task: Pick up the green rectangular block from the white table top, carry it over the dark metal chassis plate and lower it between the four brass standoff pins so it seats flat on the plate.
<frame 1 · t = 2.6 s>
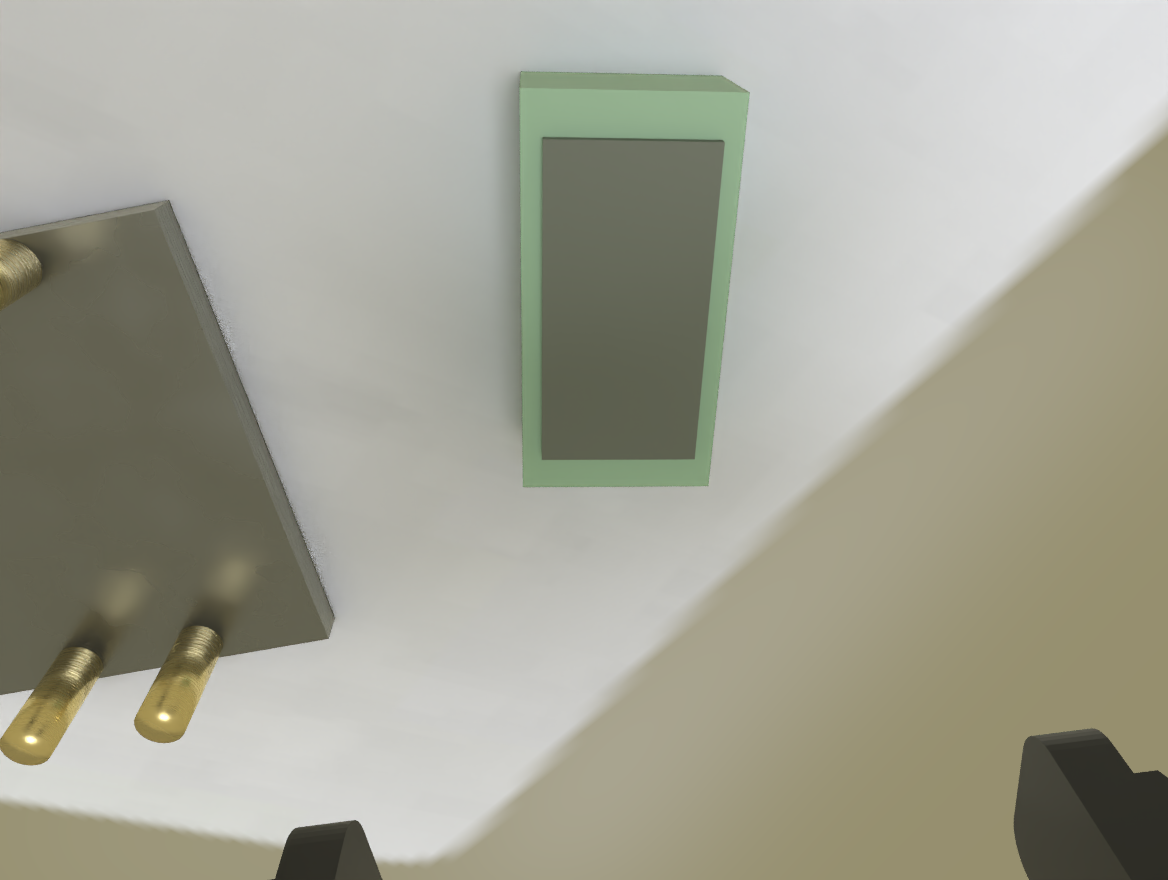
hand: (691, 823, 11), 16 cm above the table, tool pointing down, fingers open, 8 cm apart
green rectangular block: (613, 266, 25), on the table
chassis: (66, 471, 27), on the table
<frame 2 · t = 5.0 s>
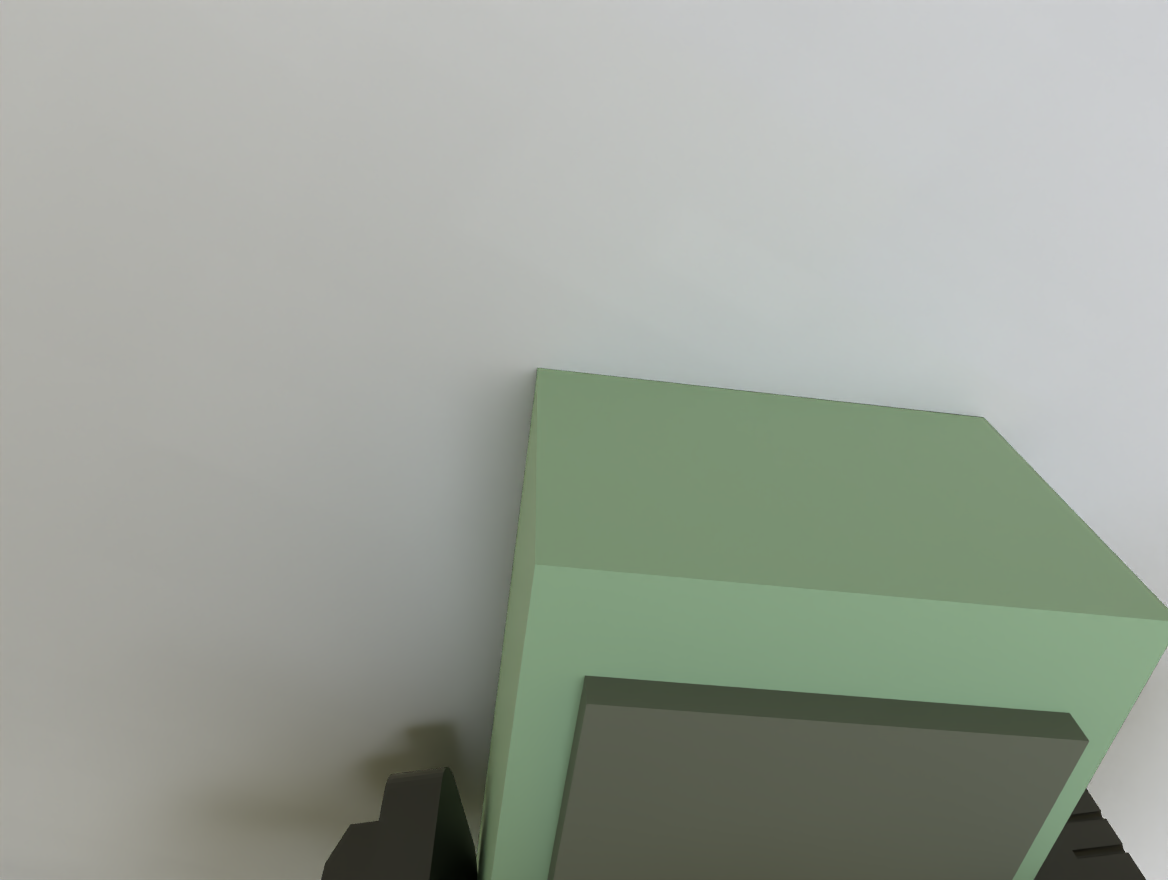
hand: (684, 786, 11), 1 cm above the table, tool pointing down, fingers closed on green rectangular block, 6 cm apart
green rectangular block: (680, 727, 12), on the table, touching gripper
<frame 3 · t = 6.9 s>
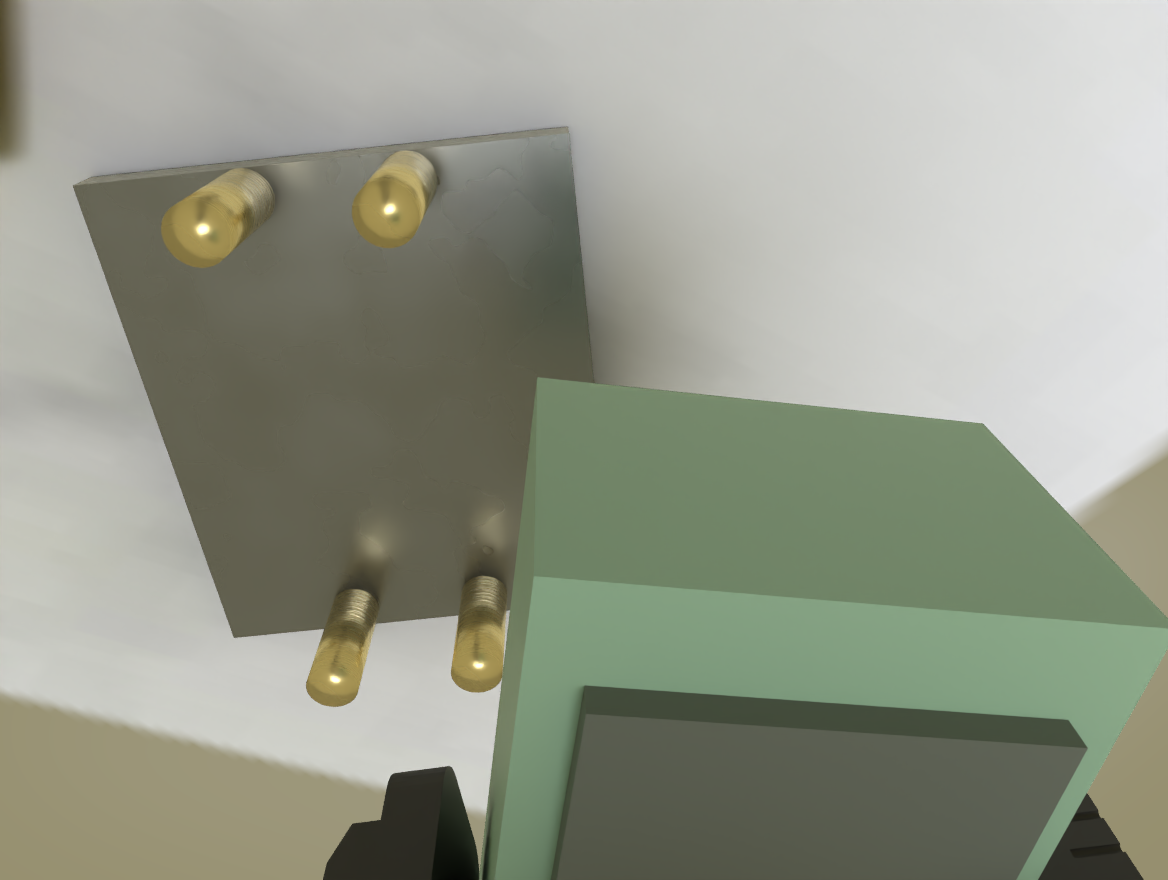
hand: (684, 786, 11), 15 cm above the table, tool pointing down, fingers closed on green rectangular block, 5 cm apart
green rectangular block: (682, 733, 12), point 15 cm above the table, touching gripper
chassis: (384, 403, 26), on the table
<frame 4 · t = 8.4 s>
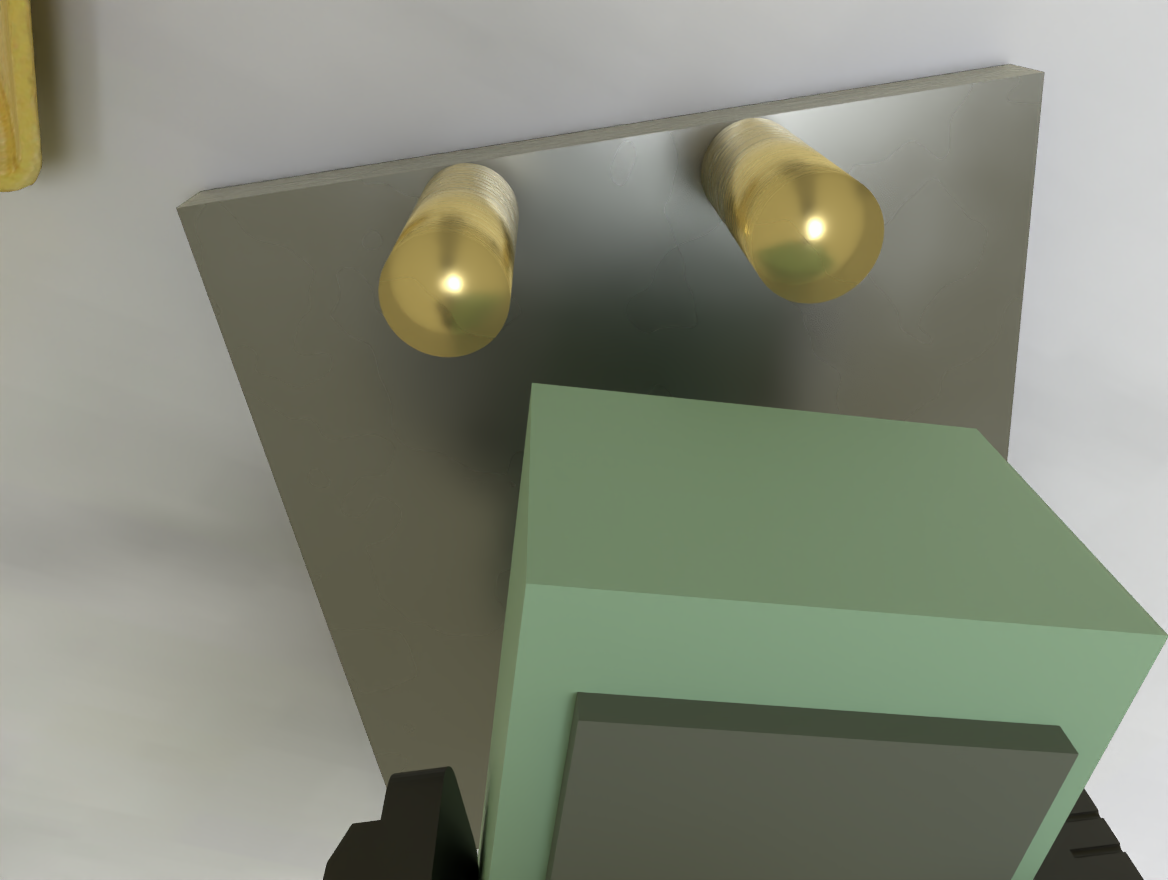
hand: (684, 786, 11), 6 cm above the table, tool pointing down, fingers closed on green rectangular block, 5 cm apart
green rectangular block: (677, 737, 12), point 5 cm above the table, touching gripper
chassis: (650, 522, 16), on the table
when the fingers open (3 cm above the table, at t = 9.3 s): green rectangular block drops 1 cm, resting on chassis.
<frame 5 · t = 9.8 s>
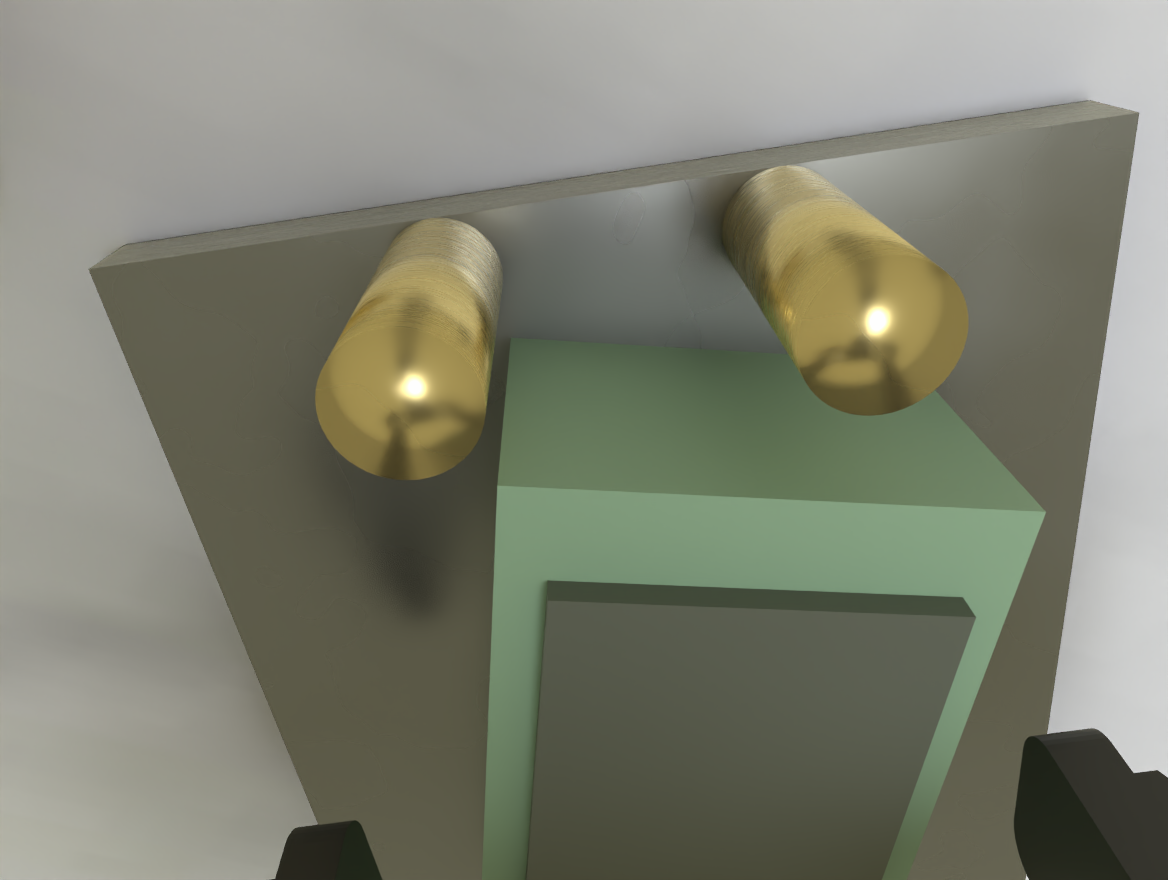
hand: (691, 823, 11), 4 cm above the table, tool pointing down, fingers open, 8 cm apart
green rectangular block: (664, 659, 13), point 1 cm above the table, touching chassis
chassis: (656, 616, 14), on the table
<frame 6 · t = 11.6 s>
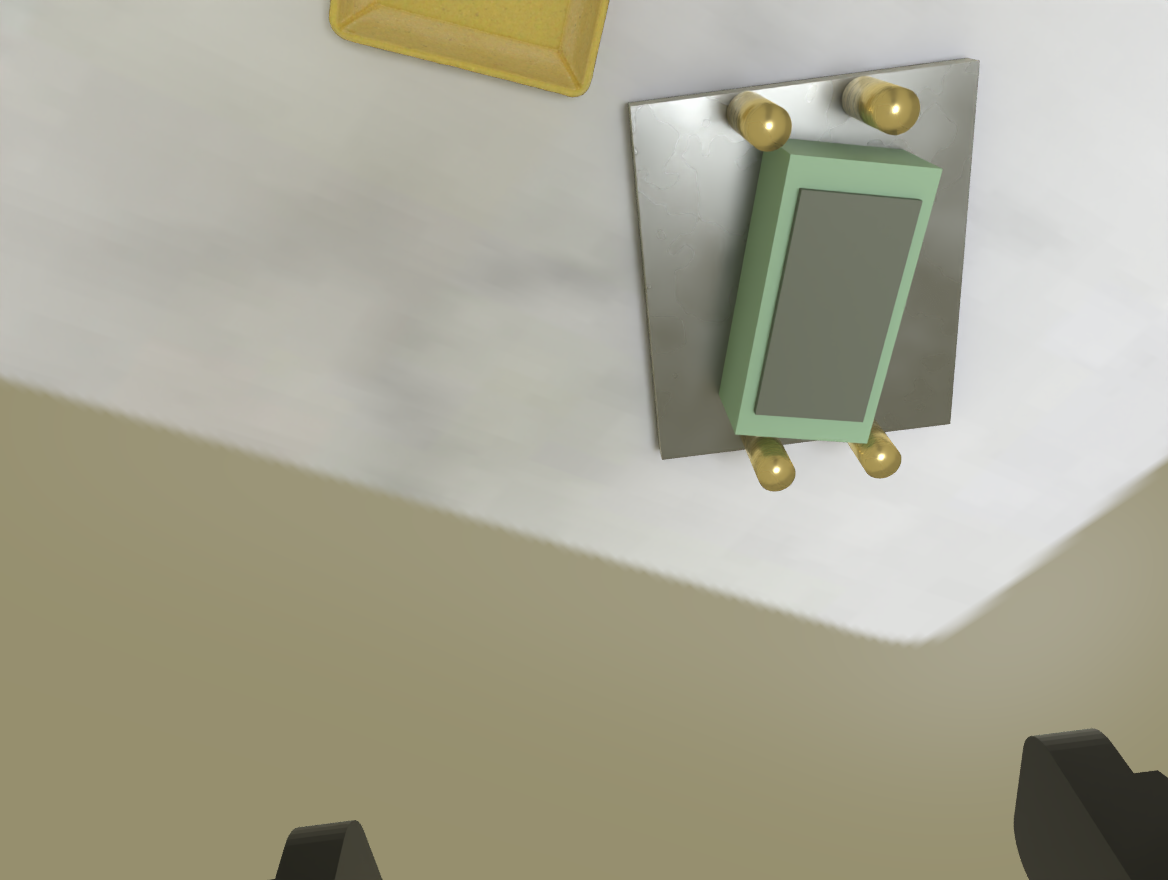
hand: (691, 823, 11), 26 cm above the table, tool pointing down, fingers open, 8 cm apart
green rectangular block: (805, 279, 34), point 1 cm above the table, touching chassis
chassis: (798, 272, 35), on the table
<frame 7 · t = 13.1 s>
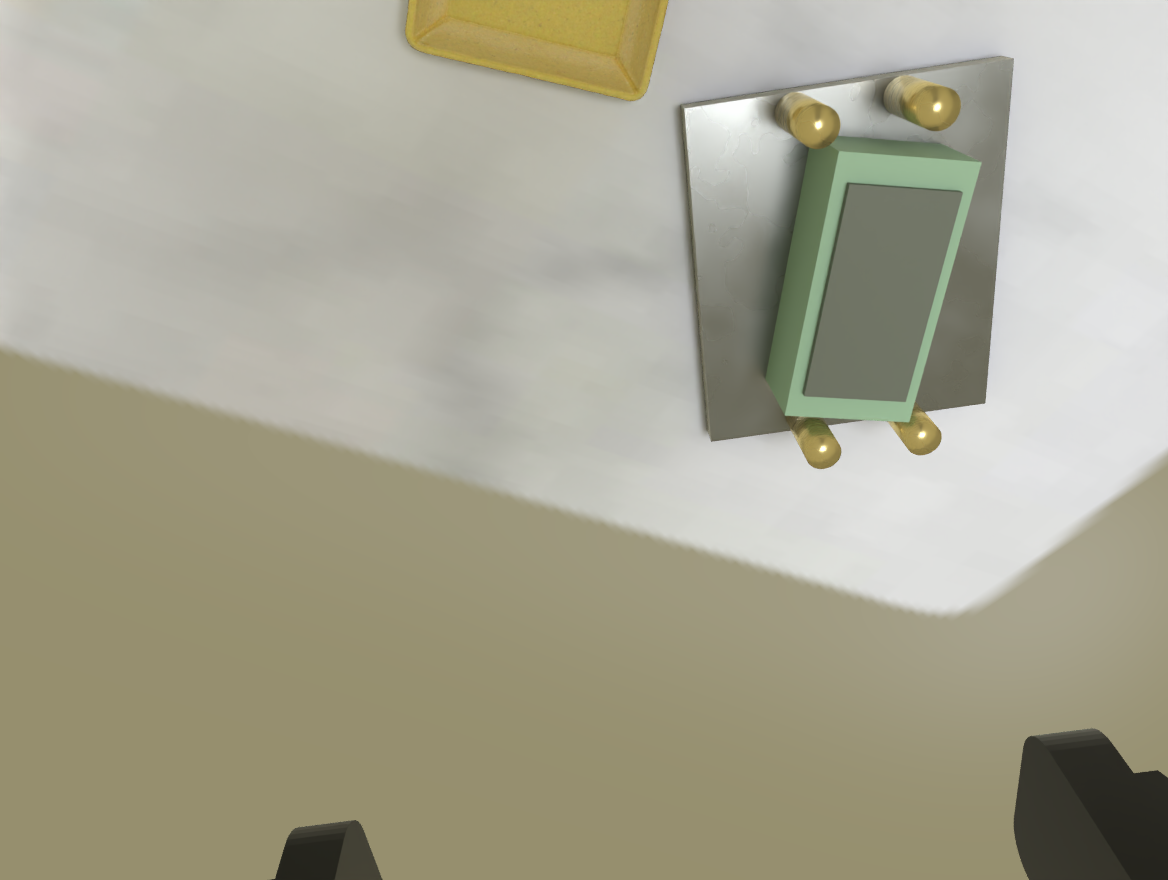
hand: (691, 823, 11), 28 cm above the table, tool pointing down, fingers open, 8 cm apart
green rectangular block: (848, 268, 36), point 1 cm above the table, touching chassis
chassis: (840, 261, 37), on the table
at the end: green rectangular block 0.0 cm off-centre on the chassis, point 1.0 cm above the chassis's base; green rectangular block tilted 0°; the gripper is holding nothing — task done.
